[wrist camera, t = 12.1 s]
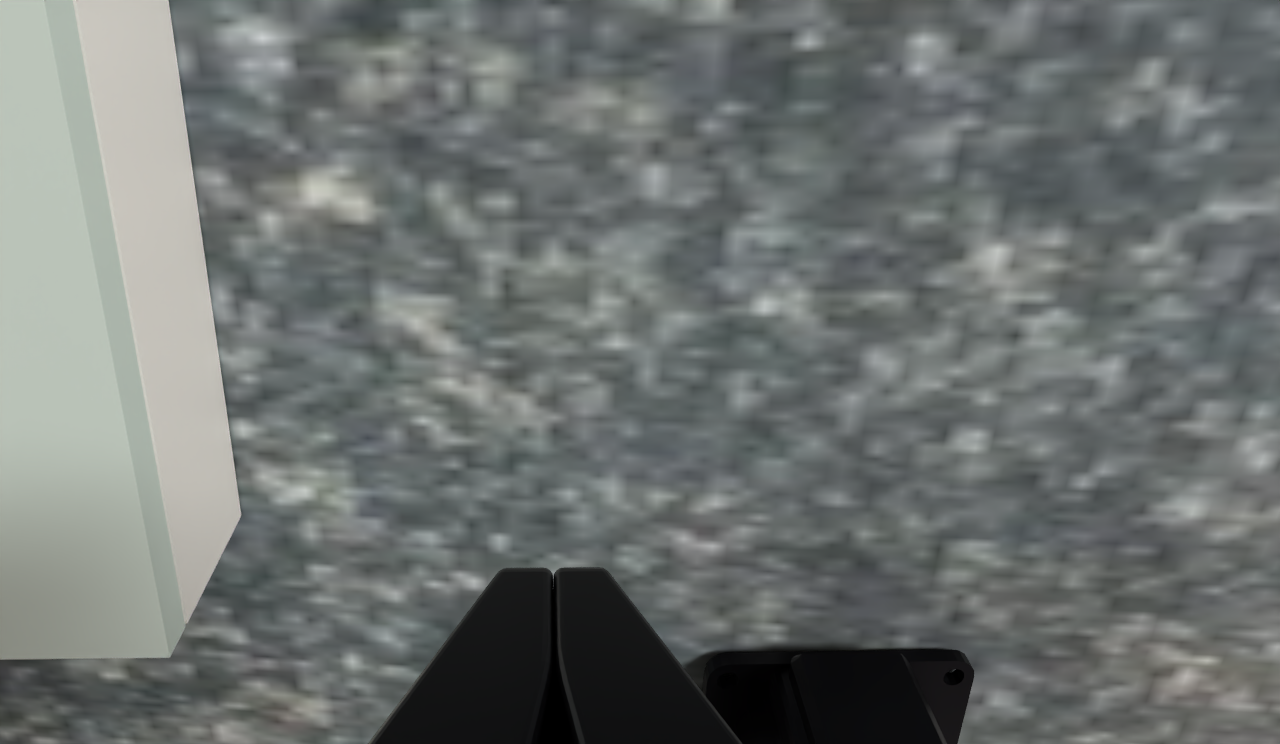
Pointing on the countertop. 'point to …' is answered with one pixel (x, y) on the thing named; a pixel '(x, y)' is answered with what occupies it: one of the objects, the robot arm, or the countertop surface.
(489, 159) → the countertop surface
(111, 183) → the cable duct
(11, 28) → the lid
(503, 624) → the robot arm
